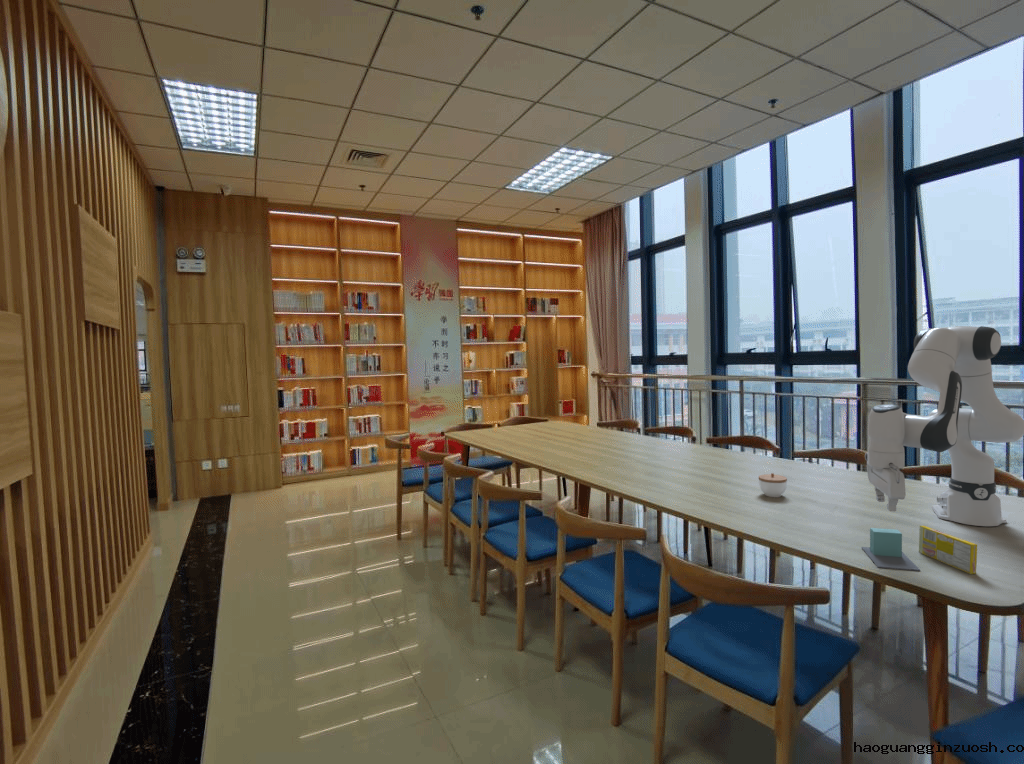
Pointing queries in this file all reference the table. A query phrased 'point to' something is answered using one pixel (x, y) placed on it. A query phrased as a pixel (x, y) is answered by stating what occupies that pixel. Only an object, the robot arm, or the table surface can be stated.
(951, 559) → the candy box
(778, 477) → the lidded jar
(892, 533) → the teal rectangular prism
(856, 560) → the table surface
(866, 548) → the felt mat
